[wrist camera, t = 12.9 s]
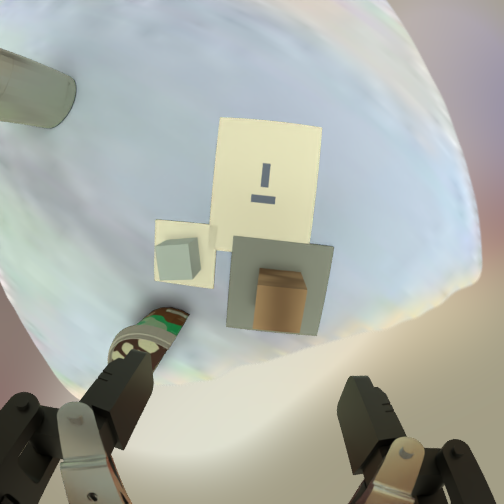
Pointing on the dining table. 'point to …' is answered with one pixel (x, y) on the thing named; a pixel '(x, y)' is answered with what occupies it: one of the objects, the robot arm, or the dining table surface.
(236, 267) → the mat
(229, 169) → the plaque
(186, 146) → the dining table surface
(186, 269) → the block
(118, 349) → the food container
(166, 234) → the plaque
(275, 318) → the block
